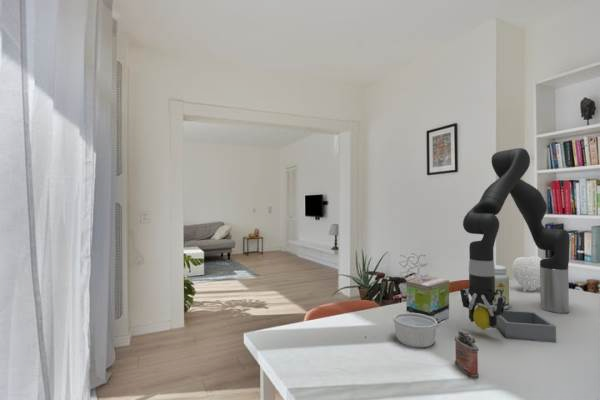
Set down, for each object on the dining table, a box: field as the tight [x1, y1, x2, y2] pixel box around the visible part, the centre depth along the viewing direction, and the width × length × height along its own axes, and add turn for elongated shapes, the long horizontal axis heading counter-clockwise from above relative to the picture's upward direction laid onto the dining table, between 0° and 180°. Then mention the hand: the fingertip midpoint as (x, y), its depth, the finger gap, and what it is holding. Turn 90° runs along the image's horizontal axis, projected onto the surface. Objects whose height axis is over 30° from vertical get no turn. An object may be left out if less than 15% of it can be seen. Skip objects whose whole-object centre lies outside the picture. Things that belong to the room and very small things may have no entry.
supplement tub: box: [477, 264, 510, 310], centre depth 140 cm, size 12×12×17 cm
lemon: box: [473, 306, 491, 331], centre depth 109 cm, size 6×6×8 cm
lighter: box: [454, 329, 480, 379], centre depth 86 cm, size 8×3×10 cm, turn 5°
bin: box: [494, 309, 557, 343], centre depth 112 cm, size 14×14×5 cm
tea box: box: [405, 276, 450, 323], centre depth 125 cm, size 15×10×15 cm, turn 131°
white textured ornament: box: [511, 255, 543, 293], centre depth 164 cm, size 18×11×17 cm, turn 108°
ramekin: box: [393, 312, 438, 349], centre depth 105 cm, size 13×13×7 cm
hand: (482, 323), depth 109 cm, fingers closed on lemon, 5 cm apart
